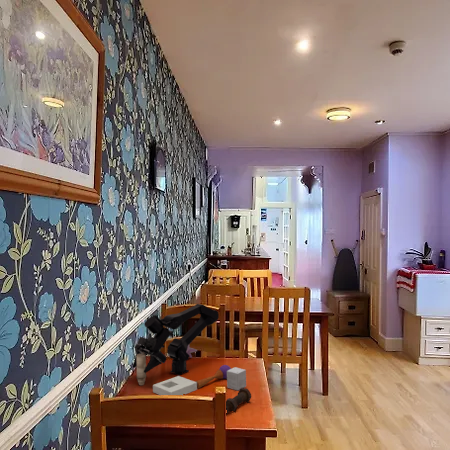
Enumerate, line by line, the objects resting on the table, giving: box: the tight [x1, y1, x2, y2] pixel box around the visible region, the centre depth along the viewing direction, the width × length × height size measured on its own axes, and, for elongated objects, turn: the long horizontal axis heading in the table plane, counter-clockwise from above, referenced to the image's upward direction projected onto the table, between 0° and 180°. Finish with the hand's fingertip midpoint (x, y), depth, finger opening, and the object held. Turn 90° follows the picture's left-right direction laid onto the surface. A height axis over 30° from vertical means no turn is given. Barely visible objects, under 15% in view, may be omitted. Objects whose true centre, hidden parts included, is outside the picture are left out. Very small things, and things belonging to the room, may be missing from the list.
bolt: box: [225, 387, 252, 414], centre depth 155 cm, size 6×5×15 cm
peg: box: [136, 353, 147, 386], centre depth 180 cm, size 4×4×13 cm
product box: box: [226, 366, 247, 392], centre depth 174 cm, size 6×6×7 cm
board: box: [152, 375, 198, 396], centre depth 172 cm, size 14×12×3 cm
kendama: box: [194, 364, 232, 390], centre depth 181 cm, size 6×6×20 cm
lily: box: [186, 344, 199, 359], centre depth 212 cm, size 12×12×10 cm
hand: (138, 369), depth 179 cm, fingers open, 9 cm apart
